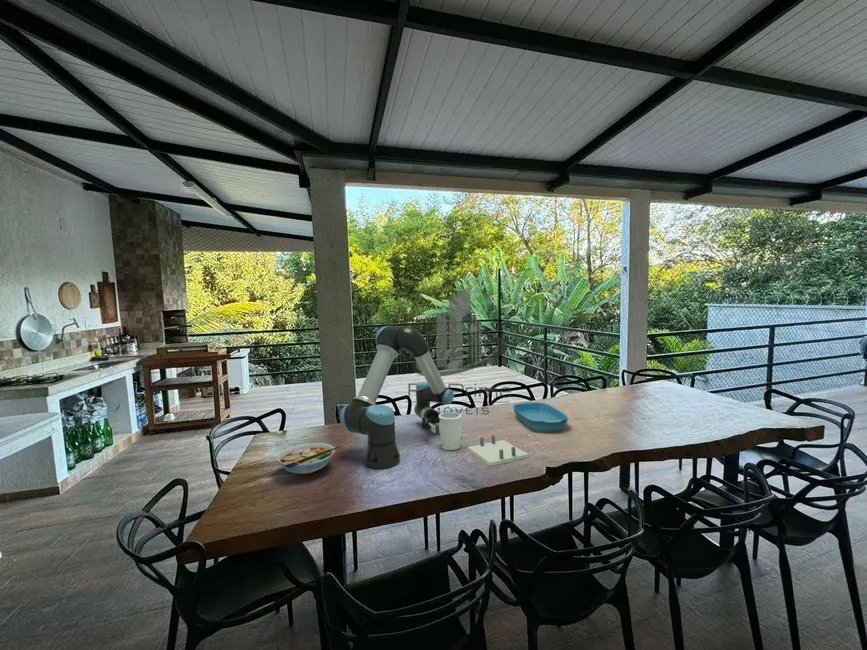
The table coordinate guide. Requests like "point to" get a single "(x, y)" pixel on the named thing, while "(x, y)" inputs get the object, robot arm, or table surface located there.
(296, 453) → the ramen bowl
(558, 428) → the casserole dish
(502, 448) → the tray
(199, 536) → the table surface
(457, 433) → the jar
